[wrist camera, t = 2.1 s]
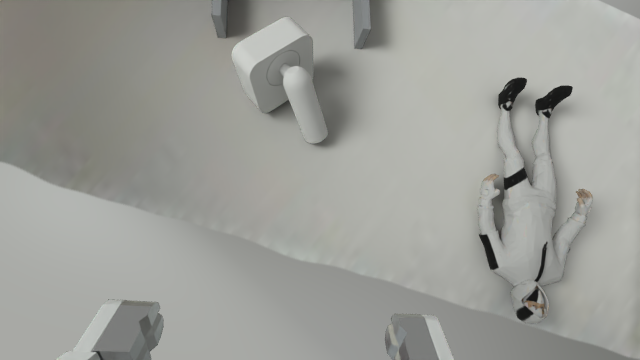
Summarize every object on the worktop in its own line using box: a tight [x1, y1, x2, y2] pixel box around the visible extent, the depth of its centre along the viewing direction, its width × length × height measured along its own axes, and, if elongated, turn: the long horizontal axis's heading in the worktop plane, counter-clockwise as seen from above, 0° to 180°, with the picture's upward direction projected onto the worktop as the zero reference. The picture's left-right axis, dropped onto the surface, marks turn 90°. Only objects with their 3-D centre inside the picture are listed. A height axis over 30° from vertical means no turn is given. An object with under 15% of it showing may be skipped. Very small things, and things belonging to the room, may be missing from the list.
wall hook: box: [232, 17, 328, 143], centre depth 34 cm, size 8×10×10 cm
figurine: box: [477, 78, 593, 324], centre depth 38 cm, size 13×6×30 cm
